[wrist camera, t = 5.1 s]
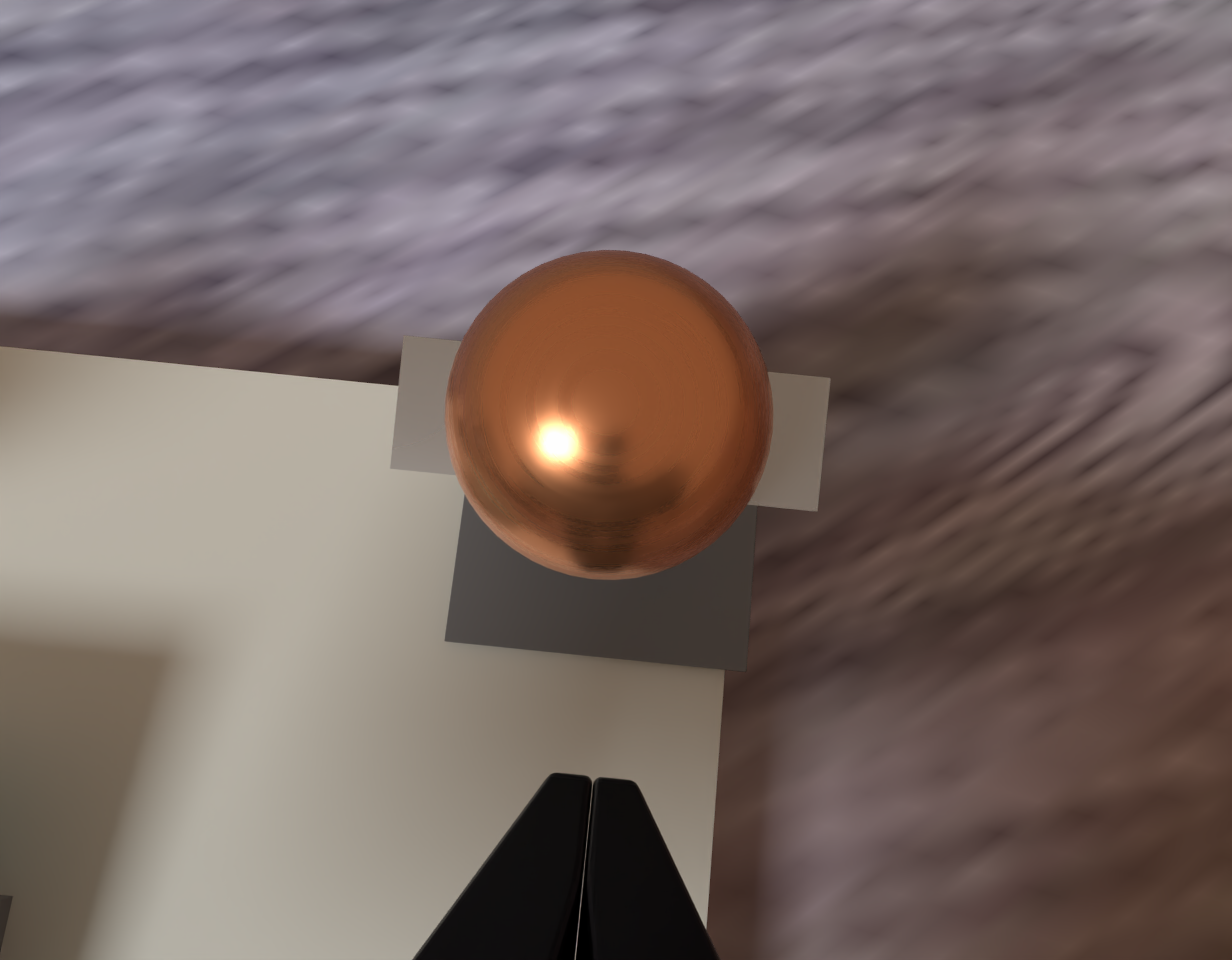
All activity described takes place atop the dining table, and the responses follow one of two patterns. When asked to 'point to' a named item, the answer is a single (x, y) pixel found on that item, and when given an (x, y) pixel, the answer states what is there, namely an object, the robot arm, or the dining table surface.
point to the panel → (303, 671)
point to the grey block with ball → (610, 416)
